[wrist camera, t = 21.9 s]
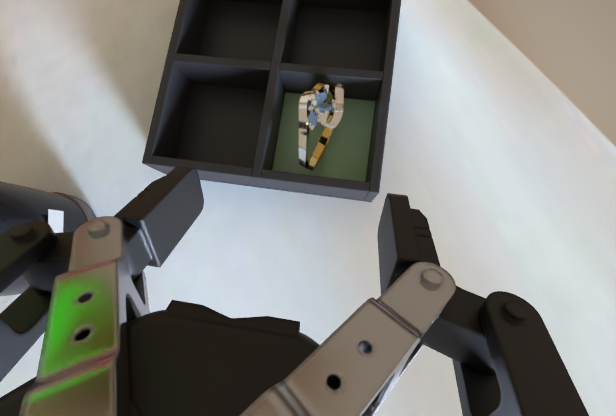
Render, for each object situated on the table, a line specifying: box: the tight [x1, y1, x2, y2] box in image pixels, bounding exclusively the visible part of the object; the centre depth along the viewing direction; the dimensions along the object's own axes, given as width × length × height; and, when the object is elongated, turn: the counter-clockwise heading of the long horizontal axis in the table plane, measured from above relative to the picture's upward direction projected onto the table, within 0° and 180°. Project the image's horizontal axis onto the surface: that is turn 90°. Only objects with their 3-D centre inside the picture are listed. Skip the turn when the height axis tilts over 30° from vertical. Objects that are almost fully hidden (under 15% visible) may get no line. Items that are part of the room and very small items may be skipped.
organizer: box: [142, 0, 401, 202], centre depth 27 cm, size 20×20×4 cm
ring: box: [299, 80, 344, 172], centre depth 23 cm, size 7×3×8 cm, turn 154°
